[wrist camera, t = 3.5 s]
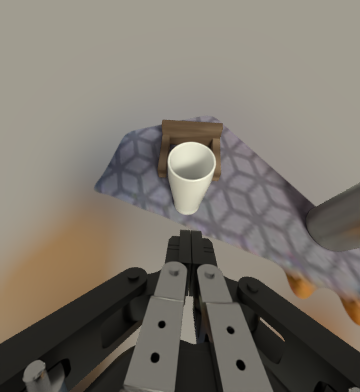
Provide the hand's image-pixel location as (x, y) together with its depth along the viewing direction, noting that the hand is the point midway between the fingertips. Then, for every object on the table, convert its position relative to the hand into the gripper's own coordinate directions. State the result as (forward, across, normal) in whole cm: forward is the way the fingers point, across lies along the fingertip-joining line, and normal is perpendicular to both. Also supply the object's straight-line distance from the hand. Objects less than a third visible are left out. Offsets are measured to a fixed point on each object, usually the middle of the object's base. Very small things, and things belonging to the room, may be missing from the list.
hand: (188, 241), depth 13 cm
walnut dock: (+32, 0, -1) cm, 32 cm away
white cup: (+25, 0, +7) cm, 26 cm away
